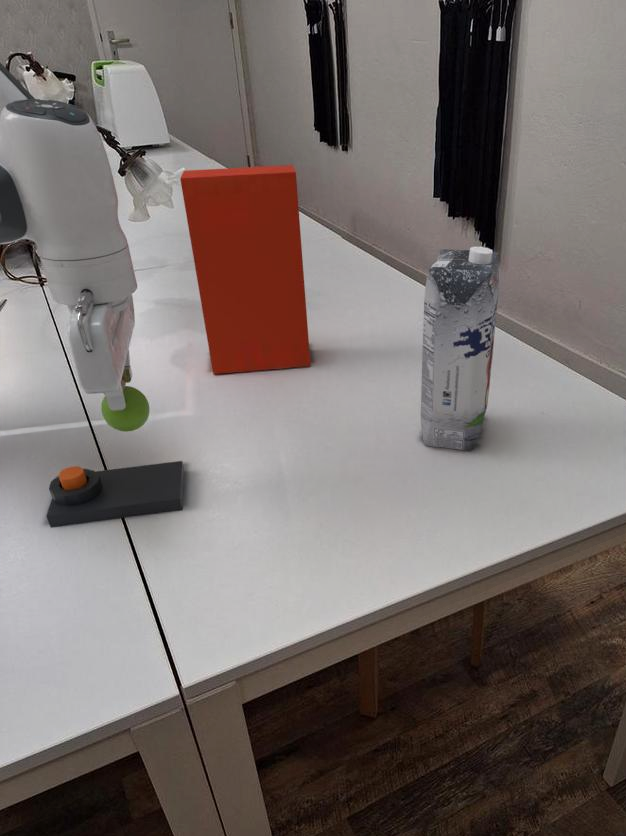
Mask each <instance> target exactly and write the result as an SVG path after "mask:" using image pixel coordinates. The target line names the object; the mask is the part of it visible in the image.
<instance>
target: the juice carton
mask: <svg viewBox="0 0 626 836" xmlns="http://www.w3.org/2000/svg"><path fill="white" fill-rule="evenodd" d="M499 266H500V264H499V252H497V251H494V250H493V249H491V248H489V247H484V246H472V247H470V248H469V249H449V248H448V249H447V248H446V249H445V248H441V249H440V250H439V252H438V254H437V259H436V261H435V262H433V263H432V264H431V265H430V266H429V267H428V270H427V272H426V273H427V274H426V282H425V289H424V298H423V319H422V320H423V323H422V324H423V325H422V355H421V356H422V359H421V384H420V385H421V386H420V387H421V388H420V389H421V390H420V391H421V392H420V425H421V432H422V433H421V434H422V439H423V443H424V445H425V446H427V447H435V448H443V449H452V450H460V451H468V452H472V451H474V450H475V448H476V445H477V443H478V441H479V438H480V435H481V431H482V429H483V425H484V420H485V416H486V413H487V408H488V403H489V395H490V386H491V385H490V384H491V374H492V364H493V355H494V345H495V344H494V343H495V334H496V323H497V314H498V303H499V291H500V269H499V268H500V267H499Z"/></svg>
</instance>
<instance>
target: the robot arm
mask: <svg viewBox="0 0 626 836" xmlns="http://www.w3.org/2000/svg"><path fill="white" fill-rule="evenodd" d="M20 240H29V241H32V242H33V243H34V244H35V245H36V247H37V251H38V256H39V260H40V263H41V266H42V269H43V273H44V276H45V279H46V282H47V286H48V289H49V293H50V296H51V299H52V300H53V301H54V302H55V303H57V304H59V305H63V306H67V309H68V310H67V311H68V312H69V314H71V315H70V316H69V319H68V321H67V336H68V342H69V347H70V350H71V351H70V352H71V354H72V358H73V363H74V367H75V370H76V374H77V378H78V383H79V385H80V387H81V389H82V390H83V392H84V393H86V394H87V395H94V394H95V395H96V394H103V395H104V397H105V396H106V398H107V401H108V405H109V408H110V409H111V410H123V409H125V407H126V402H127V399H126V396H125V392H124V390H122V386H121V379H122V374H123V370H124V367H125V371H126V384H129V383H130V382H131V381H132V379H133V371H132V367H131V360H130V359H131V358H130V357H131V356H130V345H131V341H132V337H133V333H134V328H135V325H136V317H135V316H136V315H135V314H136V313H135V306H134V300H133V299H134V298H133V294H134V293H135V292H136V291H137V290H138V281H137V278H136V273H135V269H134V263H133V260H132V254H131V250H130V246H129V241H128V239H127V236H126V234H125V232H124V231H123V229H122V227H121V224H120V220H119V197H118V192H117V188H116V184H115V180H114V175H113V172H112V168H111V164H110V161H109V157H108V154H107V151H106V148H105V145H104V141H103V139H102V136H101V135H100V132H99V130H98V128H97V126H96V124H95V123H94V121H93V119H92V117H91V116H90V115H89V113H87V112H86V111H85V110H84V109H81V108H80V107H79V106H77V105H74V104H71V103H68V102H65V101H60V100H55V99H54V100H53V99H40V98H35V97H34V96H33V95H32V94H31V93H30V92H29V90H28V89H26V87H25V86H23V84H22V83H21V82H20V81H19V80H18V79H17V78H16V77H15V76H14V74H12V73H11V72H10V70H8V69H7V67H5V65H3V63H2V62H0V245H8V244H11V243H14V242H17V241H20Z"/></svg>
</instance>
